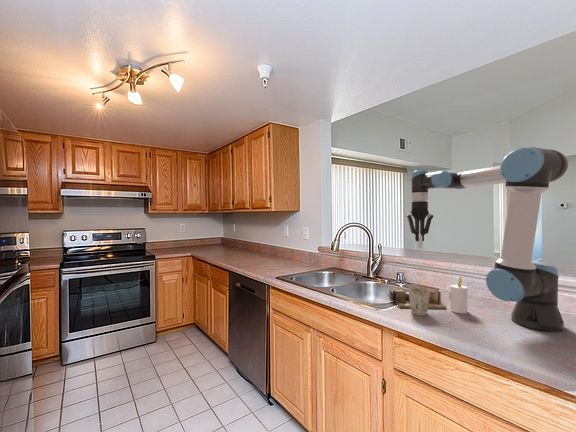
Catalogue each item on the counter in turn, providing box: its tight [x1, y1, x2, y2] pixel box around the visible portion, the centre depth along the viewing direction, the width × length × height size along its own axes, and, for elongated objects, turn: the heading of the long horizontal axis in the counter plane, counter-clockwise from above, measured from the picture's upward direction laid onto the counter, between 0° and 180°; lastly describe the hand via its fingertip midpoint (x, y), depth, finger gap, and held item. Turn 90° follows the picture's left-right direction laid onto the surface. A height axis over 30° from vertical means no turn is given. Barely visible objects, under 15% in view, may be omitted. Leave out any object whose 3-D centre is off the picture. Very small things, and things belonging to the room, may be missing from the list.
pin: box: [388, 290, 409, 302], centre depth 136 cm, size 5×21×5 cm, turn 86°
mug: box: [407, 286, 430, 316], centre depth 119 cm, size 8×13×10 cm, turn 161°
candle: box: [449, 276, 468, 315], centre depth 123 cm, size 6×6×15 cm
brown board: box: [386, 288, 447, 310], centre depth 136 cm, size 20×21×5 cm
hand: (419, 247), depth 146 cm, fingers closed
